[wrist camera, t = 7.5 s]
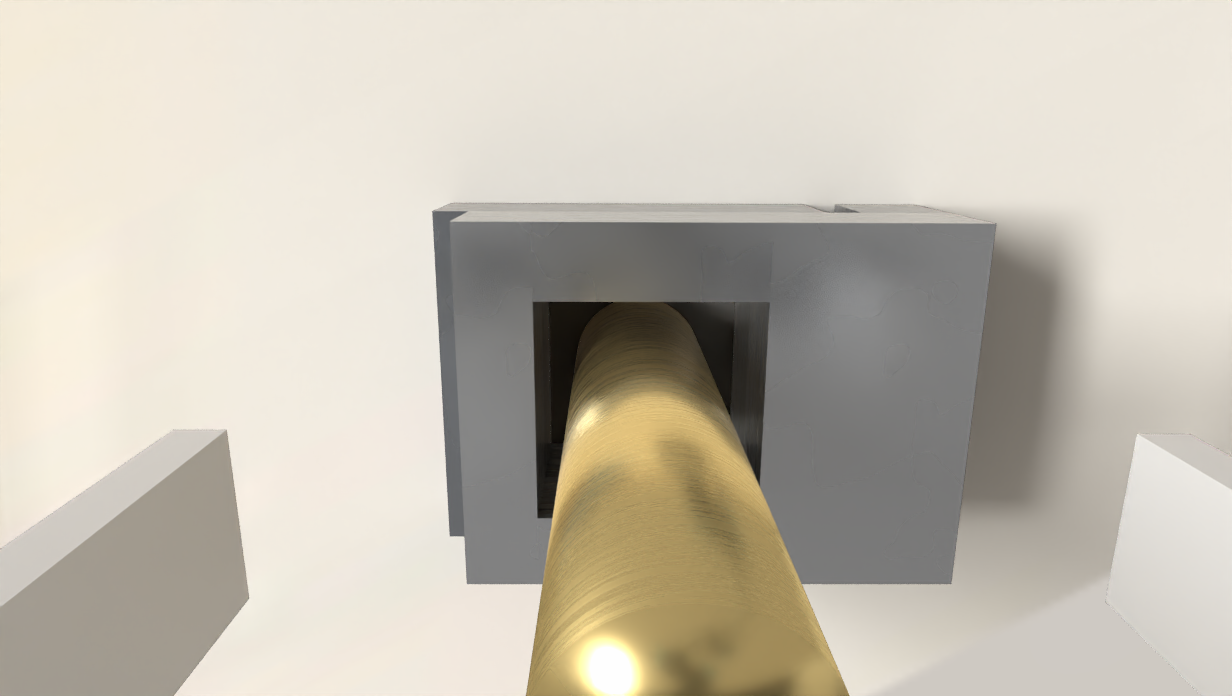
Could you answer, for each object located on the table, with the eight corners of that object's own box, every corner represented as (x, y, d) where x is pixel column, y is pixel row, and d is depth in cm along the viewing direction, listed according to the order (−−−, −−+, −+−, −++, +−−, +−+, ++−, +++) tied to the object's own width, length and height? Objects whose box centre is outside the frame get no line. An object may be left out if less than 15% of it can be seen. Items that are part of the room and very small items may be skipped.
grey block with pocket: (465, 497, 22) (430, 584, 18) (451, 202, 20) (408, 221, 16) (885, 497, 22) (951, 583, 18) (914, 204, 20) (996, 223, 16)
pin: (700, 297, 21) (872, 603, 7) (696, 414, 22) (845, 887, 8) (576, 297, 21) (515, 603, 7) (577, 414, 22) (523, 888, 8)
